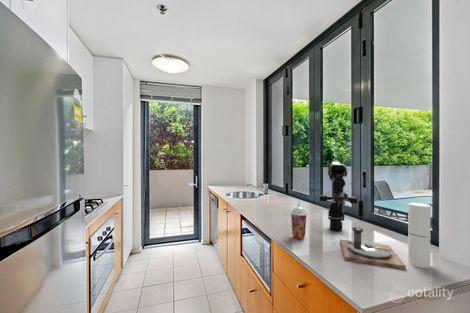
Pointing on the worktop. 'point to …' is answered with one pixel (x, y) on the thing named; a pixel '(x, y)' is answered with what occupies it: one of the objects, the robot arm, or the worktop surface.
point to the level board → (387, 262)
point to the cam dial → (367, 246)
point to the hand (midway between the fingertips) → (337, 214)
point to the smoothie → (298, 222)
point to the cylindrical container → (419, 234)
